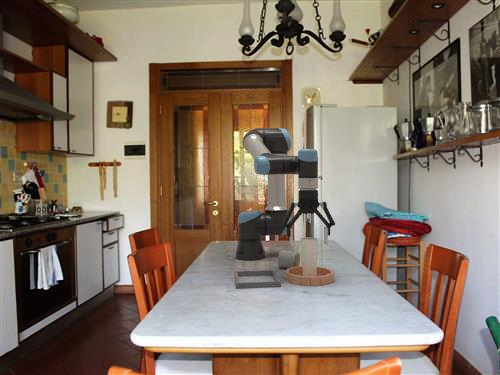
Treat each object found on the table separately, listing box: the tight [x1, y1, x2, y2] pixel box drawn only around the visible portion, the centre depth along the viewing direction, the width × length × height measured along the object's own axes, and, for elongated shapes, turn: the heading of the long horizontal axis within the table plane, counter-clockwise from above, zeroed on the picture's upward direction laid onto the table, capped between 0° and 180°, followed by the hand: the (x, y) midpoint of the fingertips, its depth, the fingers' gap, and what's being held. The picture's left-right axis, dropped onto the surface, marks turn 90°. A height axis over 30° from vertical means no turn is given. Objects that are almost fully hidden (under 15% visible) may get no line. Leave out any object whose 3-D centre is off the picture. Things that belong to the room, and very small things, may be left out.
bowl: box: [284, 265, 335, 287], centre depth 143 cm, size 18×18×3 cm
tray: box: [234, 269, 282, 289], centre depth 142 cm, size 18×16×2 cm
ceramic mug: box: [277, 249, 301, 269], centre depth 164 cm, size 11×8×8 cm
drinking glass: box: [299, 236, 319, 277], centre depth 143 cm, size 7×7×15 cm
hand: (308, 244), depth 143 cm, fingers open, 13 cm apart
